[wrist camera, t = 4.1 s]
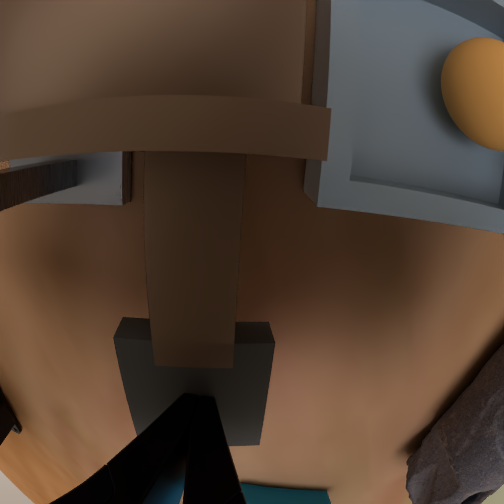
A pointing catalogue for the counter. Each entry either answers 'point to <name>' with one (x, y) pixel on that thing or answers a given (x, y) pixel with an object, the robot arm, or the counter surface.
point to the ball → (476, 90)
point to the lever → (171, 164)
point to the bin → (401, 112)
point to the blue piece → (282, 495)
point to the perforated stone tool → (464, 445)
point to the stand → (68, 179)
